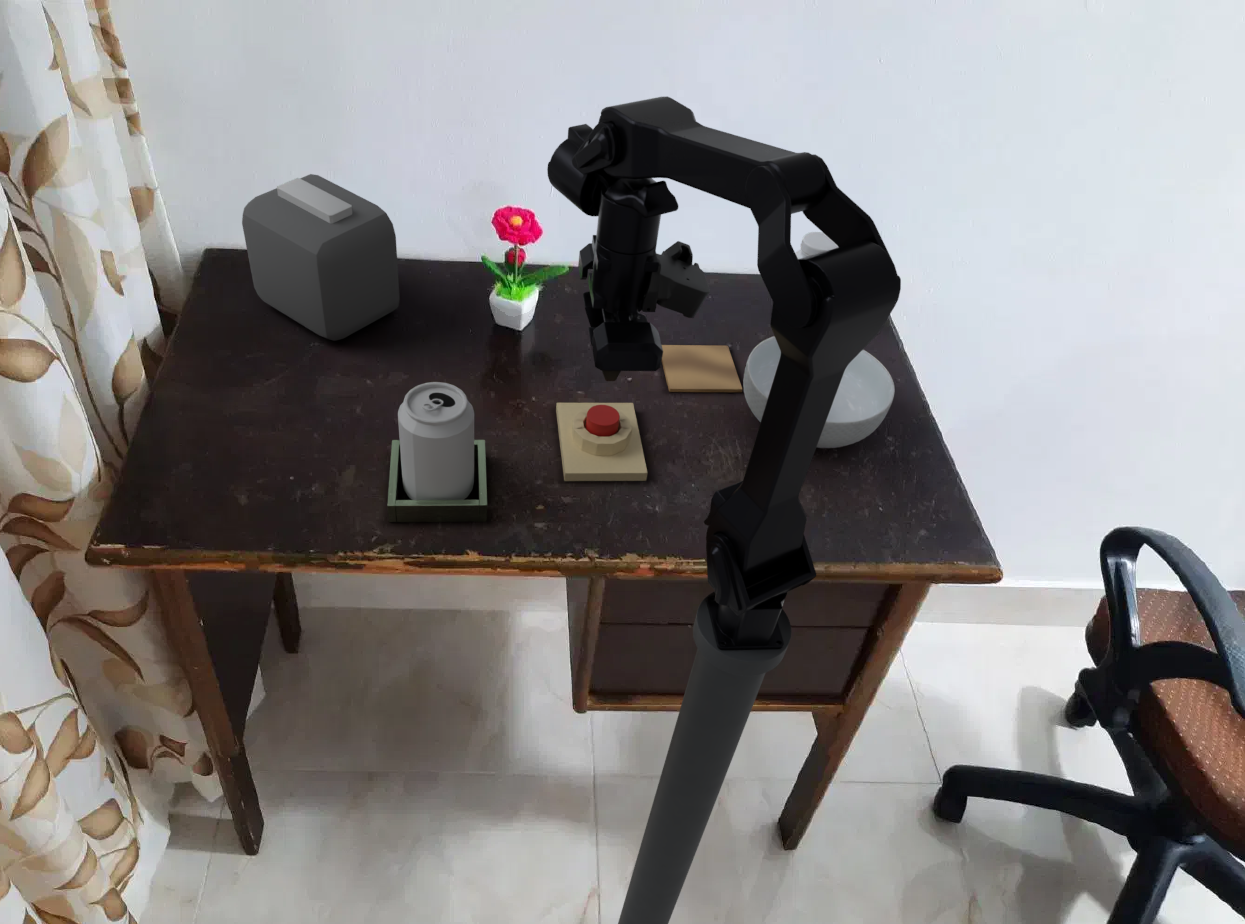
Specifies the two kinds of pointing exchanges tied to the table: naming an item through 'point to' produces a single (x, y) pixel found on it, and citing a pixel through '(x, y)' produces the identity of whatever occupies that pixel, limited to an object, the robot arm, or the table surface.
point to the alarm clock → (322, 256)
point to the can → (436, 442)
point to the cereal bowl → (855, 401)
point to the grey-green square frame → (437, 508)
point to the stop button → (602, 420)
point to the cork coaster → (699, 369)
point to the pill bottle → (815, 244)
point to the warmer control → (600, 446)
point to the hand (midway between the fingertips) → (609, 373)
